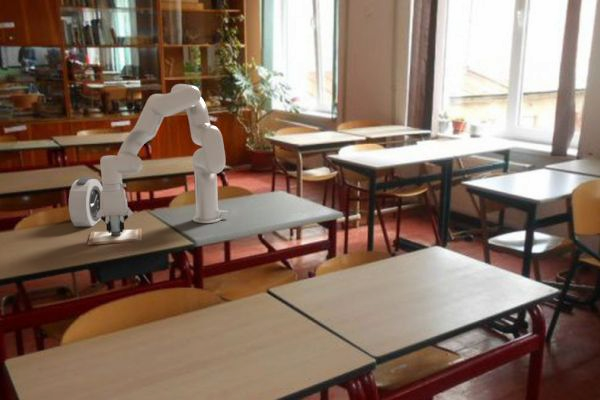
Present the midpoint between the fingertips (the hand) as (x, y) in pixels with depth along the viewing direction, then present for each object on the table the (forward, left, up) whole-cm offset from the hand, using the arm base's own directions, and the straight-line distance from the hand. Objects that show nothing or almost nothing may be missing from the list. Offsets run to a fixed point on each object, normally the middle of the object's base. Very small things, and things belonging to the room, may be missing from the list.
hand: (115, 231), depth 228 cm
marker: (0, 0, -2) cm, 2 cm away
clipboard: (0, 0, -2) cm, 2 cm away
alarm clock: (+12, -25, -2) cm, 28 cm away
